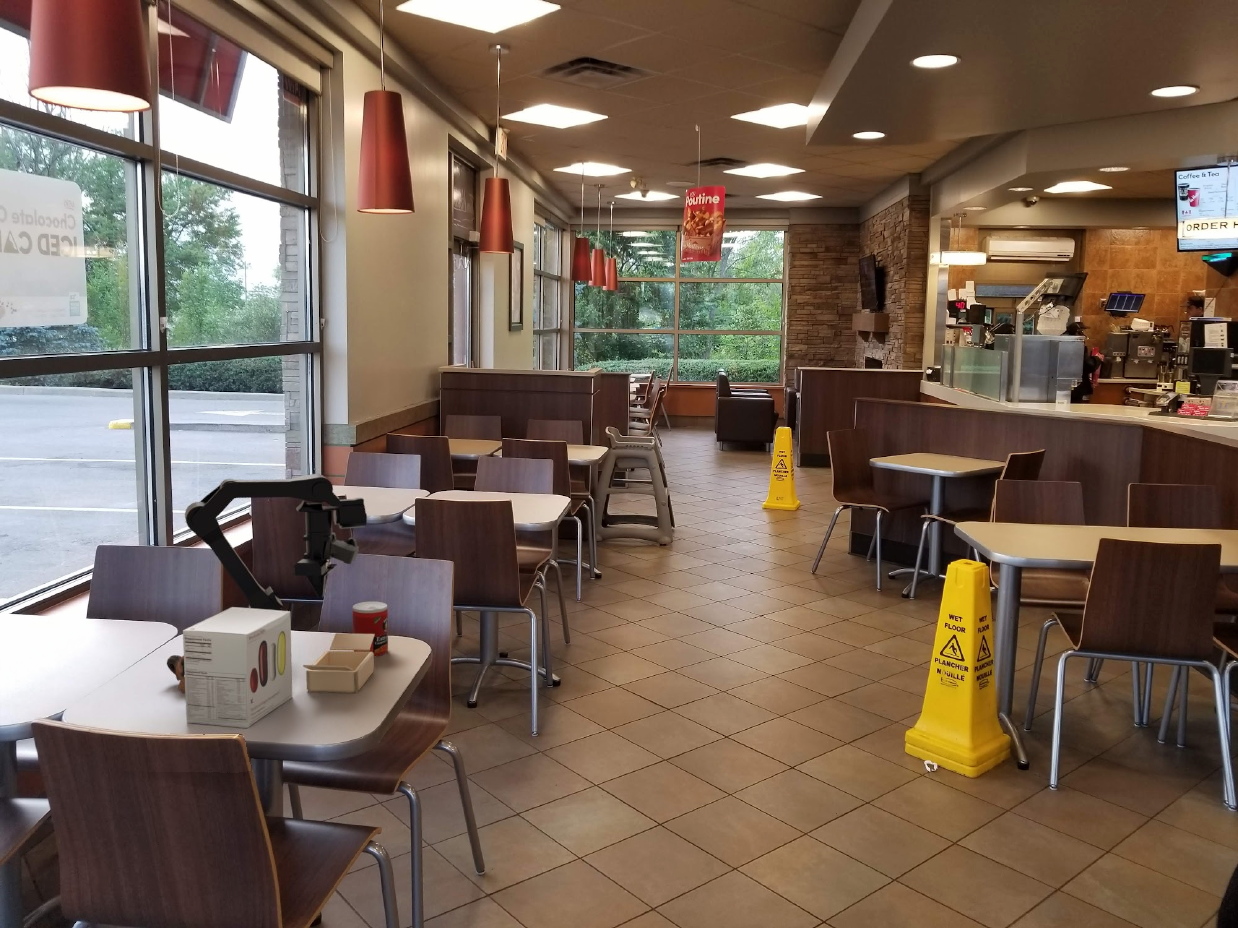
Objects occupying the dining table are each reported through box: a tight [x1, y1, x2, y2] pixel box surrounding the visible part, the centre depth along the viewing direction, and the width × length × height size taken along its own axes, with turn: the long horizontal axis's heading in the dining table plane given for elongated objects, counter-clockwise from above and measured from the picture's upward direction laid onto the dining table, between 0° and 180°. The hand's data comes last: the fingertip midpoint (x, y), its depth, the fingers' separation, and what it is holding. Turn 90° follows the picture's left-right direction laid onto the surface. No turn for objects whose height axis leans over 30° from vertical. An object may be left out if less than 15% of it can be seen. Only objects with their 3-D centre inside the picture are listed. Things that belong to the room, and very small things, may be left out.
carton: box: [305, 650, 375, 694], centre depth 208 cm, size 11×13×4 cm
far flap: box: [329, 632, 374, 651], centre depth 216 cm, size 9×5×1 cm, turn 89°
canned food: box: [352, 601, 389, 657], centre depth 227 cm, size 8×8×11 cm
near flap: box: [302, 664, 353, 671], centre depth 199 cm, size 9×5×1 cm, turn 89°
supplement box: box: [182, 606, 293, 729], centre depth 191 cm, size 17×13×18 cm
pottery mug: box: [166, 654, 185, 694], centre depth 204 cm, size 12×10×8 cm
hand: (320, 597), depth 225 cm, fingers closed
